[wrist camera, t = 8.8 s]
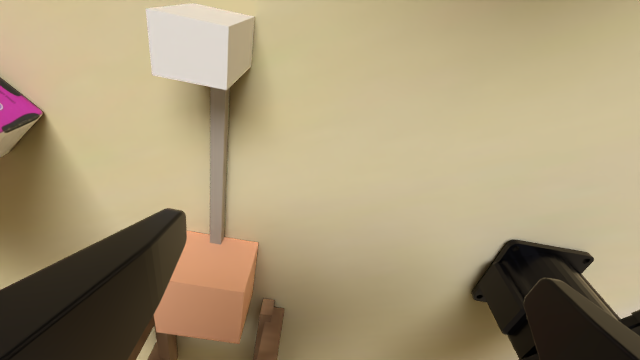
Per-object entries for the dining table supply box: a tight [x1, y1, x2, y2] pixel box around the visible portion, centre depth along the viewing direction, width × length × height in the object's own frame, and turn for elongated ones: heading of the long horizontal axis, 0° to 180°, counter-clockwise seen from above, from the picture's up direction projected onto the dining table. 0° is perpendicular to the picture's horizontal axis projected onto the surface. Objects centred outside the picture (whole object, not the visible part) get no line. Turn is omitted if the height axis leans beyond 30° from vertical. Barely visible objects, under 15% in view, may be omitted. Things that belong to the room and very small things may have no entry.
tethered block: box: [146, 3, 258, 344], centre depth 19 cm, size 6×21×4 cm, turn 169°
